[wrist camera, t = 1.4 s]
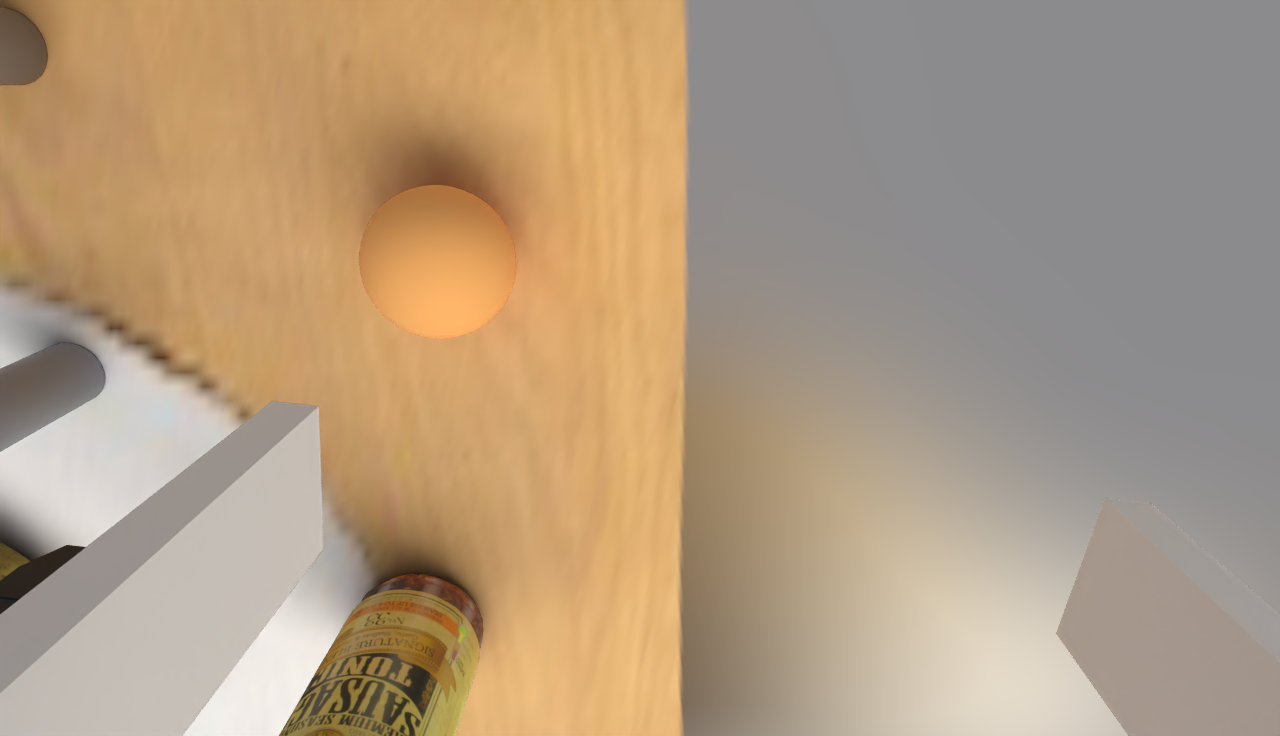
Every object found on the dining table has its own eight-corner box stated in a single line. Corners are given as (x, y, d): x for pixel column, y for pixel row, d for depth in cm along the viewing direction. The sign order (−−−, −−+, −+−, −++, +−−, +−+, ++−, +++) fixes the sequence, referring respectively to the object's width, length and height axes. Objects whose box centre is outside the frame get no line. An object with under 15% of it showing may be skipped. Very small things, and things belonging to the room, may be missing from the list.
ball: (388, 310, 31) (340, 354, 26) (382, 172, 30) (330, 189, 24) (524, 318, 32) (502, 363, 26) (526, 181, 30) (504, 201, 25)
